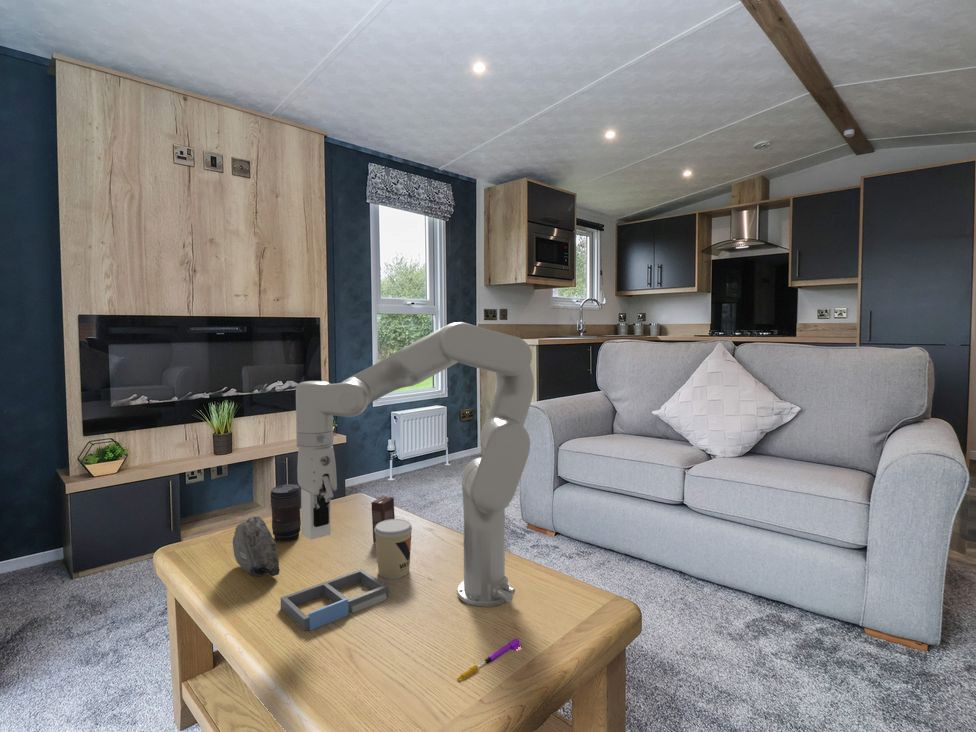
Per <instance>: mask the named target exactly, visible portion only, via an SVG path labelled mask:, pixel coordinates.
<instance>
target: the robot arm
mask: <svg viewBox="0 0 976 732" xmlns="http://www.w3.org/2000/svg"><path fill="white" fill-rule="evenodd" d="M532 353H533V352H532V349H531V347H530V345H529V344H528V343H527V342H526V340H524V339H522V338H520V337H518V336H515V335H511V334H507V333H503V332H499V331H497V330H493V329H492V330H491V329H488V328H484V327H481V326H477V325H474V324H471V323H467V322H463V321H458V322H455V321H454V322H451V323H449V324H447V325H445V326H443V327H440V328H438V329H437V330H435V331H433V332H431V333H429V334H428V335H426V336H423V337H422V338H420V339H418V340H416V341H414V342H412V343H410V344H408V345H406V346H404V347H402V348H400V349H399V350H397V351H395V352H394V353H392V354H391V355H388V357H386V358H384V359H383V360H380V361H379V362H376V363H375V364H373V365H371V366H369V367H366V368H365V369H363V370H361V371H360V372H357V373H355V374H353V375H352V376H350V377H348V378H346V379H344V380H342V382H337V383H330V382H328V381H326V380H325V381H324V380H323V381H322V380H308V381H307V380H306V381H301V382H298V384H297V385H296V388H295V415H296V416H295V417H296V418H295V426H296V429H295V430H296V431H295V432H296V435H295V437H296V439H295V440H296V448H298V452H297V466H296V467H297V473H296V475H297V485H298V486H299V488H300V489H301V488H303V489H305V490H307V491H309V492H310V493H312V494H314V500H315V508H313V512H314V526H315V527H319V526H323V525H327V524H328V523H329V506H330V507H331V500H332V499H333V498H334V493H335V492H336V491H337V489H338V487H337V486H338V483H337V482H338V481H337V480H338V479H337V465H336V463H337V462H336V458H335V457H336V456H335V450H334V446H333V445H334V416H337V417H344V418H354V417H356V416H360V415H361V414H362V413H364V411H365V410H366V409H367V407H368V405H369V404H371V403H374V402H375V401H377V400H378V399H381V398H382V397H384V396H386V395H389V394H391V393H392V392H395V391H397V390H399V389H403V388H407V387H408V388H410V387H412V386H415V385H418V384H420V383H422V382H424V381H427V379H430V378H431V377H433V376H435V375H438V374H439V373H441V372H442V371H444V370H446V369H449V368H450V367H452V366H454V365H456V364H458V363H459V364H463V365H466V366H469V367H473V368H476V369H480V370H483V371H488V372H492V373H495V376H496V387H495V393H494V395H493V398H492V402H491V405H490V408H489V409H488V410H489V411H488V412H487V416H486V419H485V421H484V423H483V425H482V428H481V431H480V442H481V444H482V447H483V448H484V450H483V452H482V455H481V457H475V458H474V459H472V460H471V461H469V462H468V464H466V466H465V468H464V469H463V472H462V477H461V488H462V489H461V491H462V505H463V506H462V507H463V580H462V581H461V582H459V584H458V586H457V589H456V592H457V594H456V595H457V596H458V598H459V599H460V601H462V602H464V604H465V603H466V604H468V605H471V606H475V607H494V606H498V605H501V604H502V603H505V602H506V603H510V602H511V600H512V598H513V596H514V595H515V593H516V589H515V588H514V587H512V586H511V584H510V583H509V577H508V576H507V575H505V574H506V571H505V569H506V566H505V565H506V562H505V561H506V557H505V554H506V553H505V552H506V551H505V549H506V547H505V546H506V545H505V544H506V543H505V542H506V541H505V540H506V535H505V534H506V533H505V532H506V530H505V528H506V508H508V506H509V505H510V504H511V502H512V501H513V498H514V496H515V494H516V492H517V488H518V486H519V483H520V481H521V479H522V476H523V473H524V470H525V467H526V464H527V462H528V458H529V455H530V449H531V438H530V435H529V433H528V431H527V428H525V426H524V425H525V422H526V419H527V416H528V414H529V410H530V406H531V402H532V399H533V396H534V390H535V389H534V388H535V387H534V386H535V381H534V375H533V370H532V367H531V364H532V361H533V354H532ZM319 490H323V491H324V492H321V493H320V492H319ZM333 492H334V493H333ZM322 495H324V497H323V498H321V499H320V501H319V496H322Z"/></svg>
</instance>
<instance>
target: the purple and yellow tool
mask: <svg viewBox="0 0 976 732" xmlns="http://www.w3.org/2000/svg"><path fill="white" fill-rule="evenodd" d="M520 646H523V645H522V644H521V643H520V638H517V637H516V638H514V639H512V640H510V641H509V642H507V644H505V645H504V646H502V647H501V648H499V649H498V650H497V651H494V652H493V653H492V654H490V655H489V656H488V657H487V658H485V659H484V662H483V663H480V664H479V665H477V664H475V665H472V666H471V667H469V669H468V670H466V671H465V672H463V673H461V674H460V676H458V677H456V680H457V681H458V682H461V681H464V680H465V679H468V677H470V676H472V675H473V674H475V673H477V672H479V668H480V667H481V666H483V665H484V664H485V665H486V664H489V663H492V662H493V661H495V660H496V659H498V658H499V657H501V656H503V655H504V654H505V653H507V652H508V651H510V650H513V649H514V651H515V650H516V649H518V647H520ZM509 649H510V650H509Z"/></svg>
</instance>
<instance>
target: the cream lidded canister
mask: <svg viewBox="0 0 976 732" xmlns="http://www.w3.org/2000/svg"><path fill="white" fill-rule="evenodd" d="M412 530H413V525H412V523H411V521H409V520H406V519H403V518H402V519H401V518H395V519H390V520H385V521H382V522H379V523H378V524H377V525H376V527H375V529H374V531H375V538H376V543H375V549H376V559H377V560H376V561H377V569H378V570H377V572H378V575H379V576H380V577H382V578H386V579H397V578H402V577H404V576H406V575H407V574H408V573H409V572H410V565H411V548H412Z"/></svg>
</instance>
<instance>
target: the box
mask: <svg viewBox="0 0 976 732" xmlns="http://www.w3.org/2000/svg"><path fill="white" fill-rule="evenodd" d="M370 504H371V519H372V522H371V523H372V524H371V525H372V537H373V538H372V540H373V541H372V543H375V544H376V538H375V531H374V529H375V527H376V525H377V524H378V523H379V522H382V521H385V520H390V519H396V517H395V497H394V496H385V495H384V496H383V495H381V496H380V497H379V498H377V499H375V500H373V501H371V503H370Z"/></svg>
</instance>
